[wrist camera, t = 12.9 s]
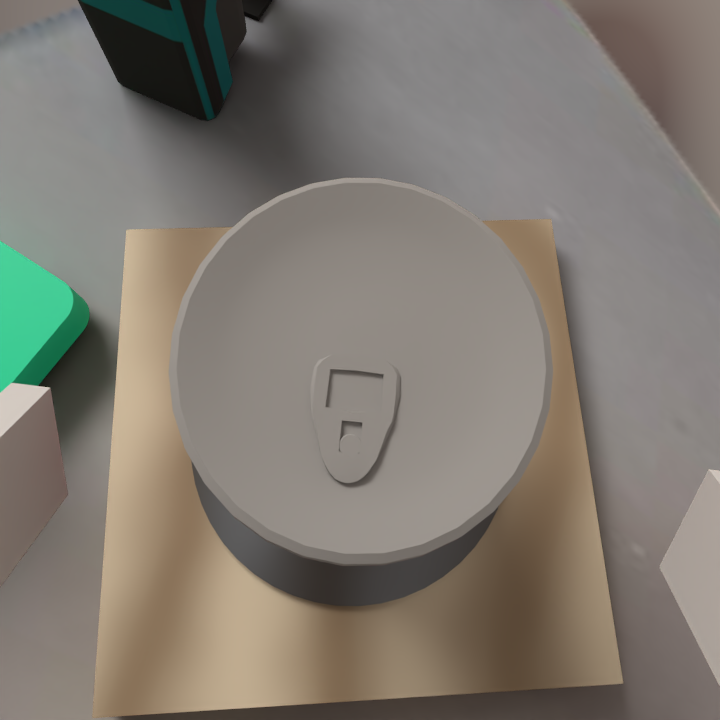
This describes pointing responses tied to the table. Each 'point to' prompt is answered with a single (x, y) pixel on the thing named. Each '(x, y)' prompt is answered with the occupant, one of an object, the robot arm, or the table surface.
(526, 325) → the canned food
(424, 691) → the wooden square board
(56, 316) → the camera mount
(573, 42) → the table surface
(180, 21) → the surveillance camera
